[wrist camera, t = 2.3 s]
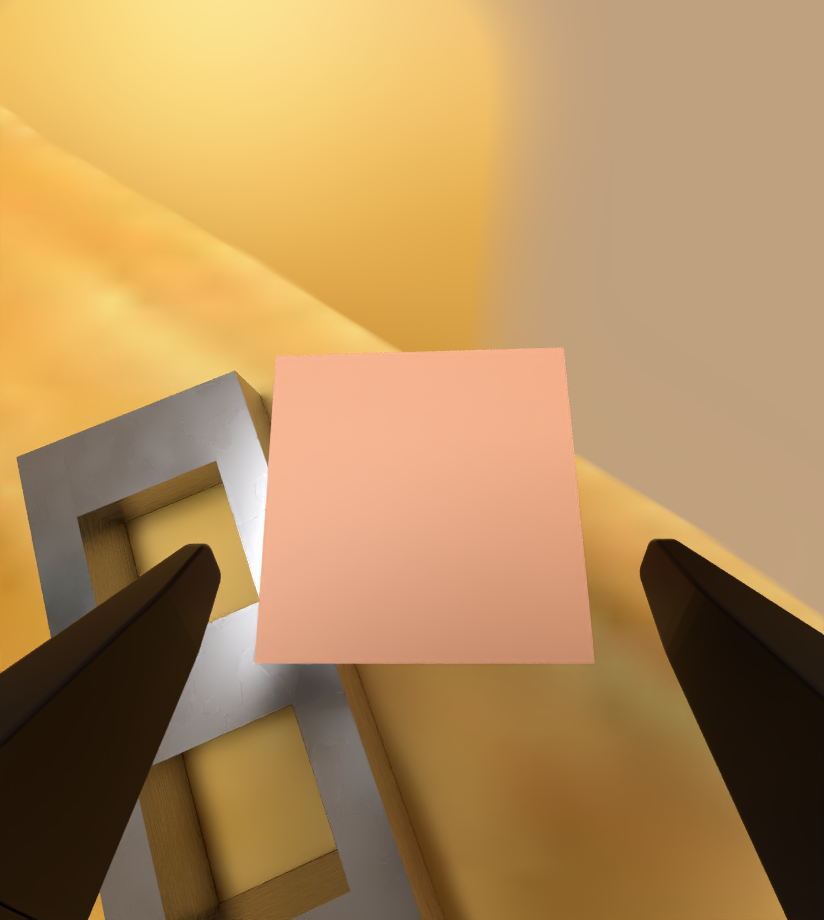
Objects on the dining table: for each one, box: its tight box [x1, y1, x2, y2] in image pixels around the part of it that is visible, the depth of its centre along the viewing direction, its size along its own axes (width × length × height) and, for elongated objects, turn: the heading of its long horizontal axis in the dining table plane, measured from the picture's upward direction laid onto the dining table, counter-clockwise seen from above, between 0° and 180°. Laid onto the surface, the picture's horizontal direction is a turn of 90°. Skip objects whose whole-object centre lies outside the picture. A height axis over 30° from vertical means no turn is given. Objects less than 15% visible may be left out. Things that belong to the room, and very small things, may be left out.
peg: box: [254, 348, 595, 664], centre depth 11 cm, size 4×4×13 cm
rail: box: [17, 371, 445, 920], centre depth 14 cm, size 30×9×2 cm, turn 23°
